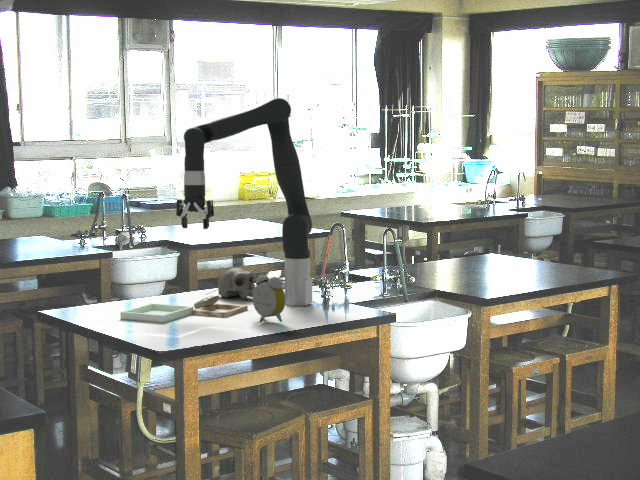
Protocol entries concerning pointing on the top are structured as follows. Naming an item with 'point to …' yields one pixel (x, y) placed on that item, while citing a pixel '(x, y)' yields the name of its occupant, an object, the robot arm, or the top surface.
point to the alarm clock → (269, 297)
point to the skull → (236, 283)
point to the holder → (234, 308)
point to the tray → (156, 313)
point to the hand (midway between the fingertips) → (195, 228)
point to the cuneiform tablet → (207, 301)
